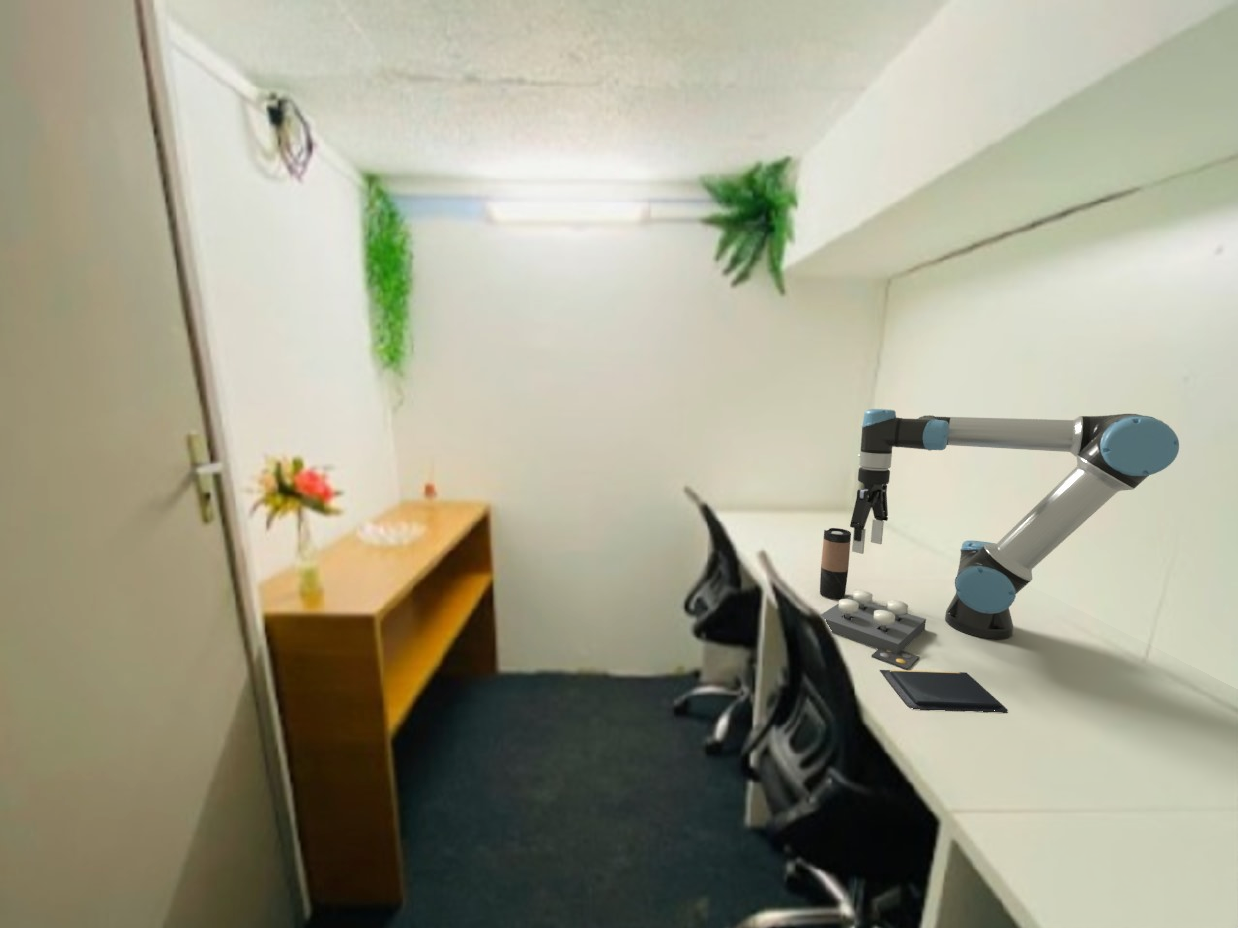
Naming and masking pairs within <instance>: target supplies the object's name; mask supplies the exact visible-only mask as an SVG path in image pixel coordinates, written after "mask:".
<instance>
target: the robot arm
mask: <svg viewBox="0 0 1238 928" xmlns="http://www.w3.org/2000/svg"><path fill="white" fill-rule="evenodd" d="M862 421H863V422H862V425H861V440H860V441H861V442H860V453H859V454H858V457H859V464H858V465H859V466H860V467H859V468H858V472H857V473H858V474H857V481H858V482H859V483H862V484H863V488H862V489H860V488H859V489H857V491H856V499H855V503H854V508H853V512H852V516H851V519H850V524H849V527H850V528H853V533H852V536H853V537H852V548H851V552H853V553H857V554H862V555H863V554H864V553H865V552H864V551H865V540H866V531H867V530H866V528H865V526H866V523H867V521H868V518H869V515H870V512H871V509H872V513H873V517H874V518H873V519H872V524H871V533H870V534H871V535H870V543H873V544H877V545H882V544H883V536H884V535H883V533H884V524H885V522H888V519H889V517H888V516H889V512H888V510H889V509H888V496H887V490H888V484H889V483H890V475H891V470H890V468H891V467H892V457H893V448H905V449H916V450H926V451H944V450H945V449H947V446H954V447H955V446H959V447H973V448H974V447H977V448H992V449H993V448H994V449H995V448H996V449H1012V450H1027V451H1044V452H1045V451H1047V452H1064V453H1071V454H1072V455H1073V456H1074V457H1076V463H1077V465H1076V467H1075V468H1073V470H1071V471H1070V472H1069V473H1068V474H1067V475H1066V476H1065V477H1064V478H1063V479H1062V480H1061V481H1060V482H1059V483H1058V484H1057V485H1056V486H1055V487H1054V488H1052V490H1050V492H1049V493H1047V495H1046V496H1045V497H1043V498H1042V500H1040V501H1039V502H1038V503H1037V504H1036V505H1035V506H1034V507H1033V508H1032V509H1031V510H1029V512H1028V513H1027V514H1026V515H1025V516H1024V517H1023V518H1022V519H1020V520H1019V521H1018V522H1017V523H1016V525H1014V526H1013V527H1012V528H1011V529H1010V530H1009V531H1008V532H1007V533H1006V534H1005V535H1004V536H1003V537H1002V538H1001V539H1000V540H999V541H997V543H993V542H988V541H984V540H983V541H981V540H964V542H963V543H962V545H961V548H960V557H959V564H958V570H957V574H956V577H955V579H954V586H955V587H954V588H955V594H954V596H953V598H952V600H951V602H950V603H949V605H948V607H947V608H946V611H945V616H944V619H945V622H946V623H947V625H949V626H950V627H952V628H954V629H955V630H957V631H960V632H961V633H964V634H967V635H970V636H974V637H978V638H984V639H987V640H988V639H989V640H1005V639H1008V638H1012V636H1013V632H1014V624H1013V623H1014V622H1013V620H1012V615H1011V612H1010V611H1011V610H1010V607H1011V606H1012V605H1013V603H1014V602H1015V600H1016V595H1017V594H1018V593H1019V592H1021V591H1022V589H1024V588H1025V587H1026V586H1027V585H1028V584H1029V583H1031V582H1032V580H1033V572H1032V571H1033V569H1034V568H1036V566H1037V565H1038V564H1039V563H1041V562H1042V561H1043V560H1044V559H1045V558H1046V557H1047V556H1048V555H1050V554H1051V553H1052V552H1053V551H1054V550H1055V549H1056V548H1057V547H1058V546H1060V544H1062V543H1063V542H1064V541H1065V540H1066V539H1067V538H1069V536H1071V535H1072V534H1073V533H1074V532H1075V531H1076V530H1078V529H1079V528H1080V527H1081V526H1082V525H1083V524H1084V523H1085V522H1086V521H1087V520H1089V518H1091V517H1092V516H1093V515H1094V514H1095V513H1097V511H1098V510H1099V509H1101V508H1102V506H1103V505H1105V504H1107V502H1108V501H1110V500H1111V498H1113V497H1114V496H1115V495H1116V494H1117V493H1119V492H1121V491H1133V490H1134V489H1136V488H1137V487H1138V486H1139V485H1140V484H1141V483H1142V482H1144V481H1145V480H1146V479H1147V478H1148V477H1149V476H1151V475H1152V476H1153V475H1155V474H1157V473H1159V472H1162V471H1163V470H1165V469H1167V468H1168V467H1169V466H1171V464H1172V463H1173V462H1174V461H1175V460H1176V458H1177V456H1178V454H1179V449H1180V441H1179V437H1178V435H1177V434H1176V432H1175V431H1174V430H1173V428H1172V427H1170V426H1169V424H1167V423H1165V422H1164V421H1163V420H1162V419H1158V418H1155V417H1153V416H1149V415H1142V414H1137V413H1120V414H1119V413H1118V414H1110V415H1094V416H1093V415H1088V416H1087V415H1079V416H1078V417H1076V418H1075V419H1047V418H1045V419H1043V418H1042V419H1041V418H1040V419H1038V418H1004V417H1002V418H1000V417H972V416H971V417H970V416H969V417H967V416H966V417H965V416H964V417H963V416H934V415H930V414H929V415H923V416H919V417H918V418H903V417H897V415H896V411H895V410H894V409H884V408H869V409H867V410H865V411H864V414H863V420H862Z"/></svg>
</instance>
